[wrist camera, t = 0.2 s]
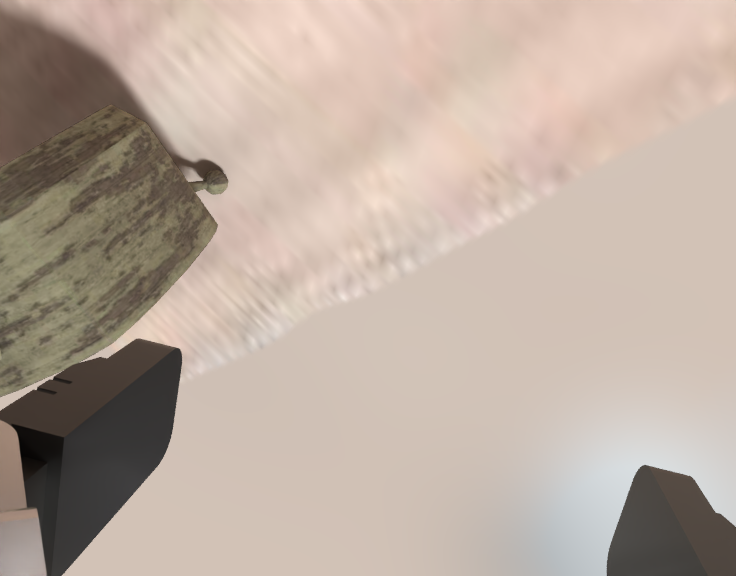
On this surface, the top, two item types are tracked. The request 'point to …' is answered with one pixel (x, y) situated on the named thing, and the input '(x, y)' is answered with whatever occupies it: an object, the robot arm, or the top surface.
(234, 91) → the top surface
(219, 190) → the tabletop clock
